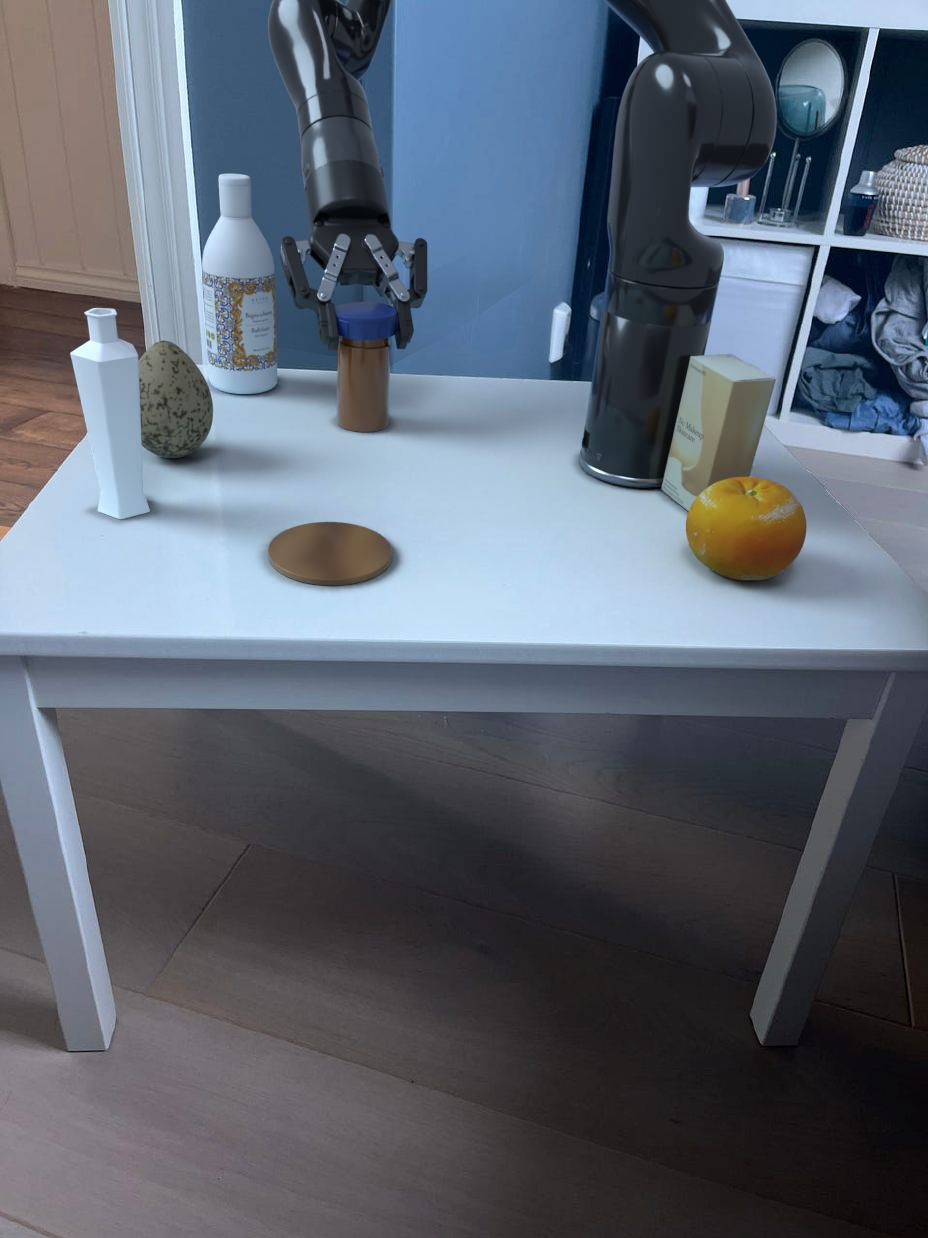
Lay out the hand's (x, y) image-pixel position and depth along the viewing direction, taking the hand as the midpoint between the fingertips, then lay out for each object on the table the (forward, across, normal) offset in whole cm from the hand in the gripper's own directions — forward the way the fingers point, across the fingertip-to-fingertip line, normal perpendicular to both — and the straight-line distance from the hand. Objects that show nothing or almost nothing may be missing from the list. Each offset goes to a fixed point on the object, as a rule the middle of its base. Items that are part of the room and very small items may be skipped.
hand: (368, 345), depth 89 cm
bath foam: (-4, +10, -16) cm, 19 cm away
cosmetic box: (+20, -25, +8) cm, 33 cm away
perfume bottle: (+16, +22, +4) cm, 27 cm away
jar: (+4, 0, -7) cm, 8 cm away
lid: (-3, 0, 0) cm, 3 cm away
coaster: (+23, +8, +11) cm, 27 cm away
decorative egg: (+9, +18, -3) cm, 20 cm away
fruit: (+28, -22, +16) cm, 39 cm away
